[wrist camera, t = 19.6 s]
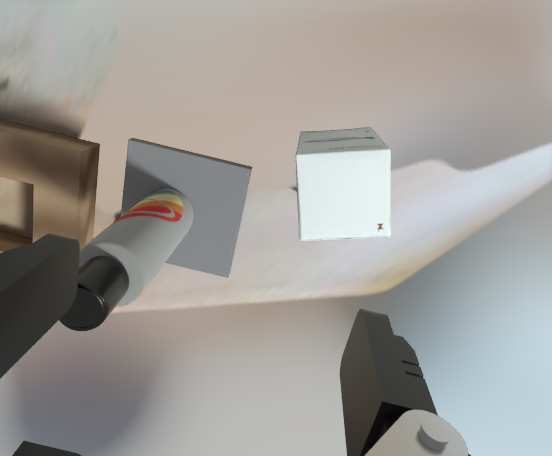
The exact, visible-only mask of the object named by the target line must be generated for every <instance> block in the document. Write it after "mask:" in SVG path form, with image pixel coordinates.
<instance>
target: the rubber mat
mask: <svg viewBox="0 0 552 456" xmlns="http://www.w3.org/2000/svg"><path fill="white" fill-rule="evenodd" d="M251 170H252V167H250V166H246V165H242V164H238V163H233V162H229V161H226V160H221V159H217V158H213V157H209V156H205V155H201V154H196V153H193V152H189V151H184V150H180V149H176V148H172V147H168V146H164V145H160V144H155V143H152V142H147V141H143V140H139V139H135V138H132V139H129V140H128V150H127V161H126V170H125V181H124V190H123V201H122V210H121V216H123V215H124V214H125V213H126V212H128V211H129V210H130V209H131V208H133V207H134V206H135V205H136V204H138V203H139V202H140V201H141V200H143V199H144V198H145V197H147V196H148V195H149V194H151V193H152V192H154V191H156V190H160V189H172V190H176V191H178V192H180V193H181V194H183V195H184V196H185V197H186V198H187V199H188V200H189V202H190V203H191V205H192V208H193V213H194V218H193V223H192V225H191V227H190V229H189V231H188V232H187V234H186V235H185V236H184V238H183V239H182V240H181V242H180V243H179V244H178V246H177V247H176V248H175V250H174V251H173V252H172V254H171V255H170V257H169V258H168V259H167V261H166V262H165V263H169V264H173V265H177V266H181V267H186V268H190V269H194V270H198V271H202V272H206V273H210V274H215V275H219V276H223V277H227V278H228V276H229V274H230V270H231V265H232V260H233V255H234V251H235V246H236V241H237V236H238V232H239V227H240V222H241V217H242V213H243V208H244V203H245V199H246V194H247V188H248V184H249V179H250V175H251Z"/></svg>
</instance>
